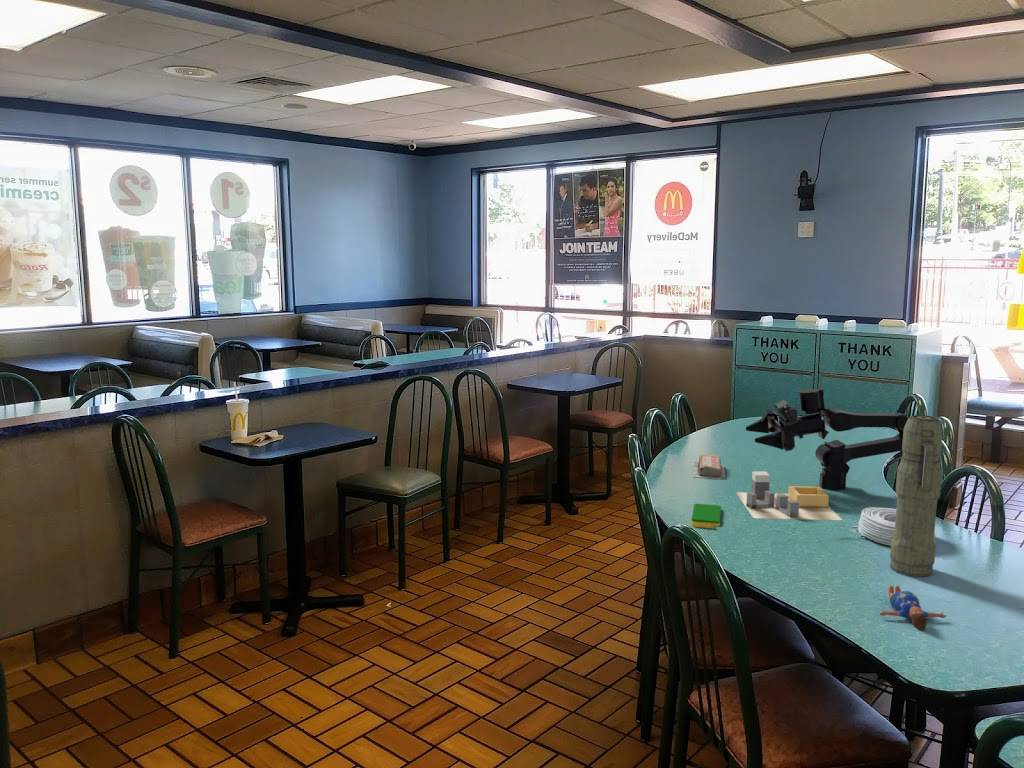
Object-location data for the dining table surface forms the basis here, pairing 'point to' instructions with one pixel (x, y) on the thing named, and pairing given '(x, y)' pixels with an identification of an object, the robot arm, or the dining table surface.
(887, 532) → the cable
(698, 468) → the packaged product
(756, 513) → the board
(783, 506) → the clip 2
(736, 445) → the dining table surface
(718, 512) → the dish sponge
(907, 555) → the thermos
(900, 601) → the toy character
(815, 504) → the end holder
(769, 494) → the clip
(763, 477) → the connector plug
